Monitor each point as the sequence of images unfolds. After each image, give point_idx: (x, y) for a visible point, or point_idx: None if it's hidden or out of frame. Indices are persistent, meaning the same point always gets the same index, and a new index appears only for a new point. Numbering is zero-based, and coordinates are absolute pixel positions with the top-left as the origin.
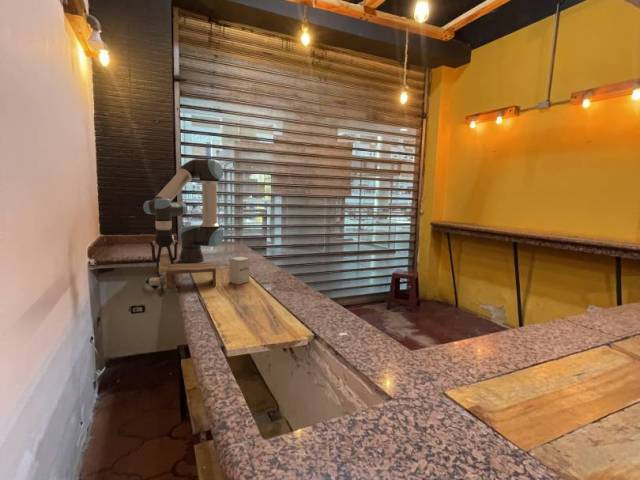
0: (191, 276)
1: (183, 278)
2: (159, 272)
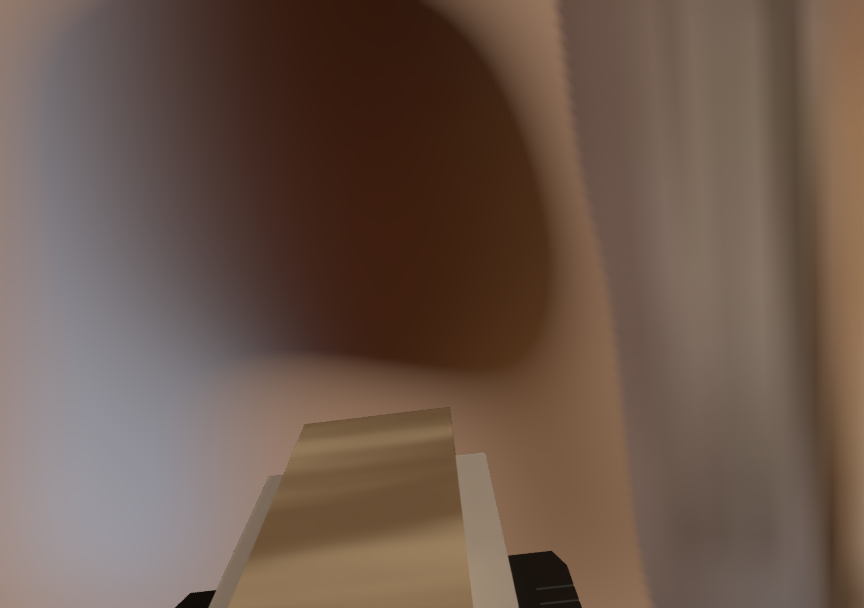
0: (811, 358)
1: (682, 477)
2: None
